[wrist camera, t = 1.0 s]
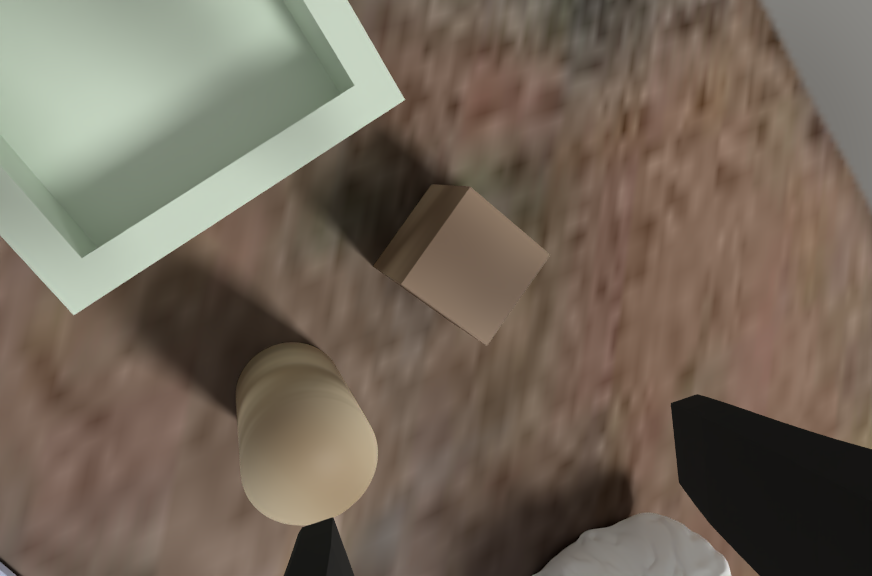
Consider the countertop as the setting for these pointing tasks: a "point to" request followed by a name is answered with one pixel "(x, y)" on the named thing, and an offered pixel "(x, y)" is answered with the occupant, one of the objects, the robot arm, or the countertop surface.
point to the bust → (639, 551)
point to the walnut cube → (463, 259)
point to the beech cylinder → (301, 436)
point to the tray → (164, 121)
